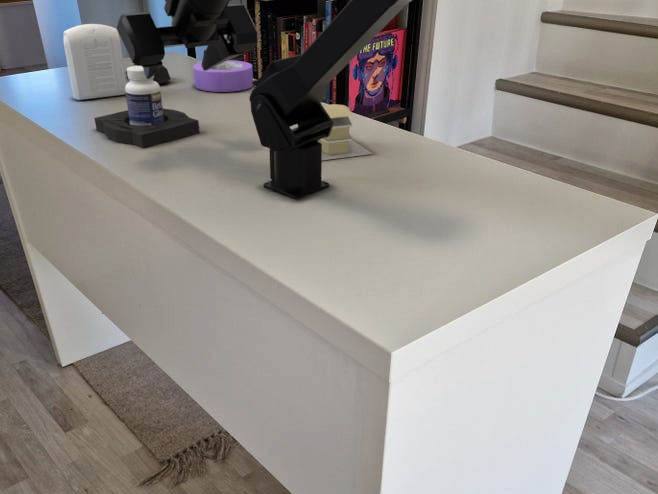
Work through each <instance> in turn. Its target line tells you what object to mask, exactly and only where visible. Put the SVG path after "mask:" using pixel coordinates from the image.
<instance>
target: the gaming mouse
mask: <svg viewBox="0 0 658 494" xmlns="http://www.w3.org/2000/svg"><path fill="white" fill-rule="evenodd" d="M132 66H137V65H136V64H134V63H133V64H132ZM125 75H126V78H127V79H129V78H128V75H127V70H126V71H125ZM171 80H172V79H171V75H170V72H169V70H168V68H166V66H164V65H162V66H161V67H160V68H159V69H158V71H157V72H156V73H155V74H154V78H153V81H155V82H157V83H158V84H159V85H163V84H165V83H167V82H170V81H171Z"/></svg>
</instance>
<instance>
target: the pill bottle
mask: <svg viewBox="0 0 658 494" xmlns="http://www.w3.org/2000/svg"><path fill="white" fill-rule="evenodd" d="M126 71H127V74H126V76H127V75H128V78H127V79H128V80H129V81H128V82H126V86H125V92H126V95H125V98H126V104H127V110H128V113H129V120H130V125H137V126H147V125H156V124H160V123H164V117H163V109H162V108H163V102H162V93H161V86H160V84H158V83H157V82H155V81H153V78H154V75H153V76H152V77H151V78H150V79H147V78H146V76H145V74H144V70H143V67H142V66H133V65H132V66H131V65H130V66H128V67H127V68H126Z"/></svg>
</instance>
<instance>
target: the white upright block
mask: <svg viewBox="0 0 658 494" xmlns="http://www.w3.org/2000/svg"><path fill="white" fill-rule="evenodd" d="M62 35H63V36H62V37H63V49H64V53H65V59H66V60H65V61H66V64H67V70H68V77H69V81H70V87H71V93H72V97H73V99H74V100H77V101H82V100H90V99H98V98H108V97H115V96H117V97H118V96H126V92H125V86H126V84H127V81H126V80H127V79H126V71H125V66H124V65H125V64H124V58H123V52H122V51H123V50H122V45H121V37H120V35H119V32H118V30H117V27H114V26H110V25H107V24H100V23H84V24H80V25H76V26H73V27H70V28H68V29H66V30H64V31H63V34H62Z"/></svg>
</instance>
